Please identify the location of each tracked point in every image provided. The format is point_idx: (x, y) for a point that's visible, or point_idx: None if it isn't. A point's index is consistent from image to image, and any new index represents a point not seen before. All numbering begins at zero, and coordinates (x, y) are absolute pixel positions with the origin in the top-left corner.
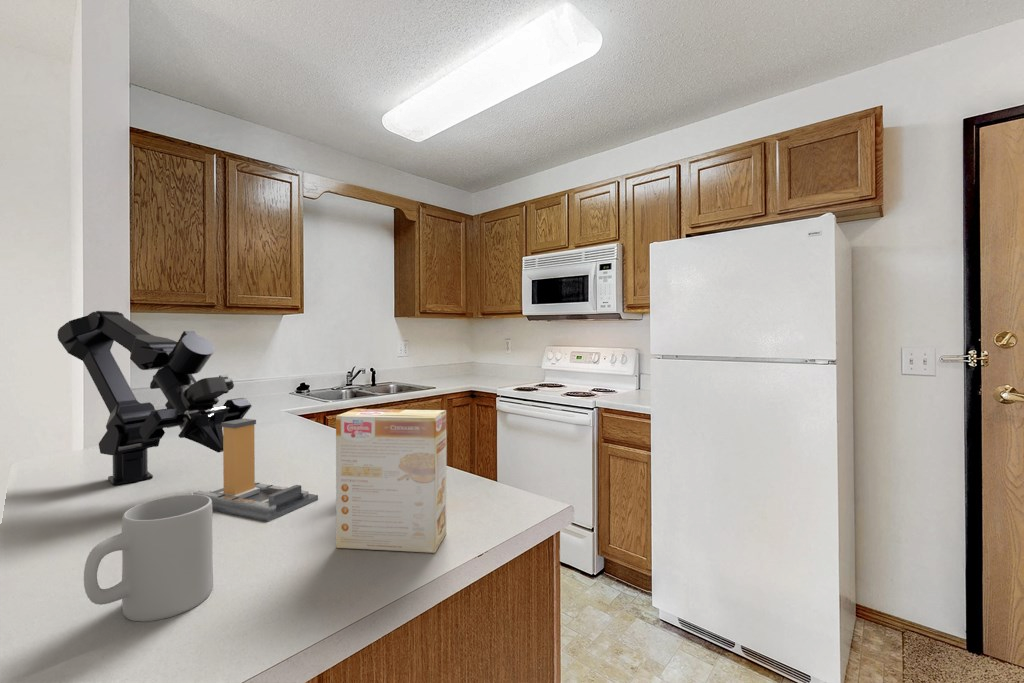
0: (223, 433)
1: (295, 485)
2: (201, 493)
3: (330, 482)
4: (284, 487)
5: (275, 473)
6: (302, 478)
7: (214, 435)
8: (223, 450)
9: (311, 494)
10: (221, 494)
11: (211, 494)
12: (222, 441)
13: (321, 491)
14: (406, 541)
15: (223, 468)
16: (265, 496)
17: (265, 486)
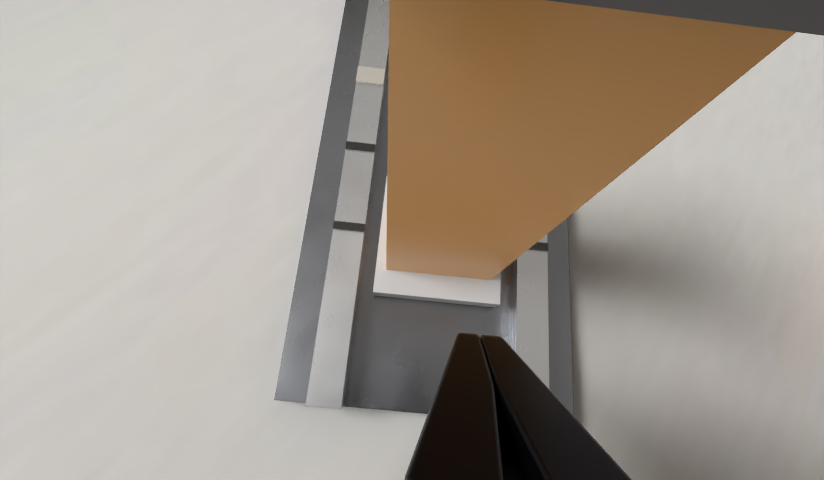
0: (713, 93)
1: None
2: (540, 371)
3: (156, 52)
4: (364, 75)
5: (28, 396)
6: (112, 192)
7: (561, 470)
8: (589, 198)
9: (349, 1)
10: (499, 282)
11: (532, 309)
12: (462, 378)
13: (269, 26)
14: None
15: (530, 247)
16: None
17: (366, 162)
